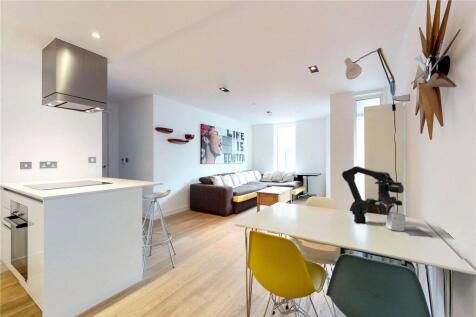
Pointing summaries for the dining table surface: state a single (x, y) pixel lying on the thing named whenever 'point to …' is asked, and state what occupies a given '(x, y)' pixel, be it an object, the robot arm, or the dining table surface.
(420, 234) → the mat
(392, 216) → the small box
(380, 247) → the dining table surface
